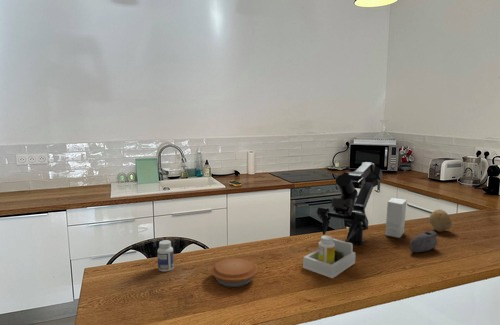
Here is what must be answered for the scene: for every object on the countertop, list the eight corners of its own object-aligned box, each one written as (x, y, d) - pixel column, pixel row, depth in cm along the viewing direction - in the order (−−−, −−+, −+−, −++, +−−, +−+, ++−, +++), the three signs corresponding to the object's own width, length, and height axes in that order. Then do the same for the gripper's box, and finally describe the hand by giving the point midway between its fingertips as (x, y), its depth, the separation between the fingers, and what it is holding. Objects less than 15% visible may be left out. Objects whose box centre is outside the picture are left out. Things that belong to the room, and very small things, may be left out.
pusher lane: (327, 254, 135) (327, 236, 134) (355, 263, 127) (355, 244, 126) (303, 267, 123) (303, 248, 122) (332, 278, 116) (333, 258, 115)
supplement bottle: (335, 263, 125) (336, 235, 123) (332, 269, 120) (333, 241, 118) (320, 260, 127) (321, 233, 125) (316, 266, 122) (317, 238, 120)
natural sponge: (425, 227, 166) (426, 206, 164) (445, 228, 165) (446, 207, 163) (432, 233, 157) (433, 212, 156) (453, 234, 156) (455, 212, 154)
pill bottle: (168, 263, 127) (167, 238, 126) (176, 268, 123) (175, 242, 122) (155, 268, 123) (154, 242, 122) (163, 273, 120) (162, 246, 118)
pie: (202, 276, 118) (201, 262, 117) (240, 264, 126) (240, 251, 126) (226, 296, 105) (226, 280, 104) (267, 281, 114) (267, 266, 113)
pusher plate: (322, 256, 130) (323, 245, 129) (343, 263, 124) (344, 251, 123) (321, 257, 129) (321, 246, 128) (342, 264, 123) (342, 252, 123)
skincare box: (389, 230, 162) (391, 197, 160) (405, 233, 158) (407, 199, 156) (384, 235, 155) (386, 201, 153) (400, 238, 151) (402, 203, 149)
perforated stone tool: (414, 256, 133) (416, 239, 132) (403, 251, 138) (404, 234, 137) (440, 249, 140) (442, 232, 139) (428, 245, 144) (430, 228, 143)
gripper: (318, 186, 136) (305, 221, 128) (367, 192, 125) (355, 231, 118) (326, 201, 143) (314, 235, 136) (373, 209, 132) (362, 246, 125)
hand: (335, 236), depth 128 cm, fingers open, 9 cm apart
